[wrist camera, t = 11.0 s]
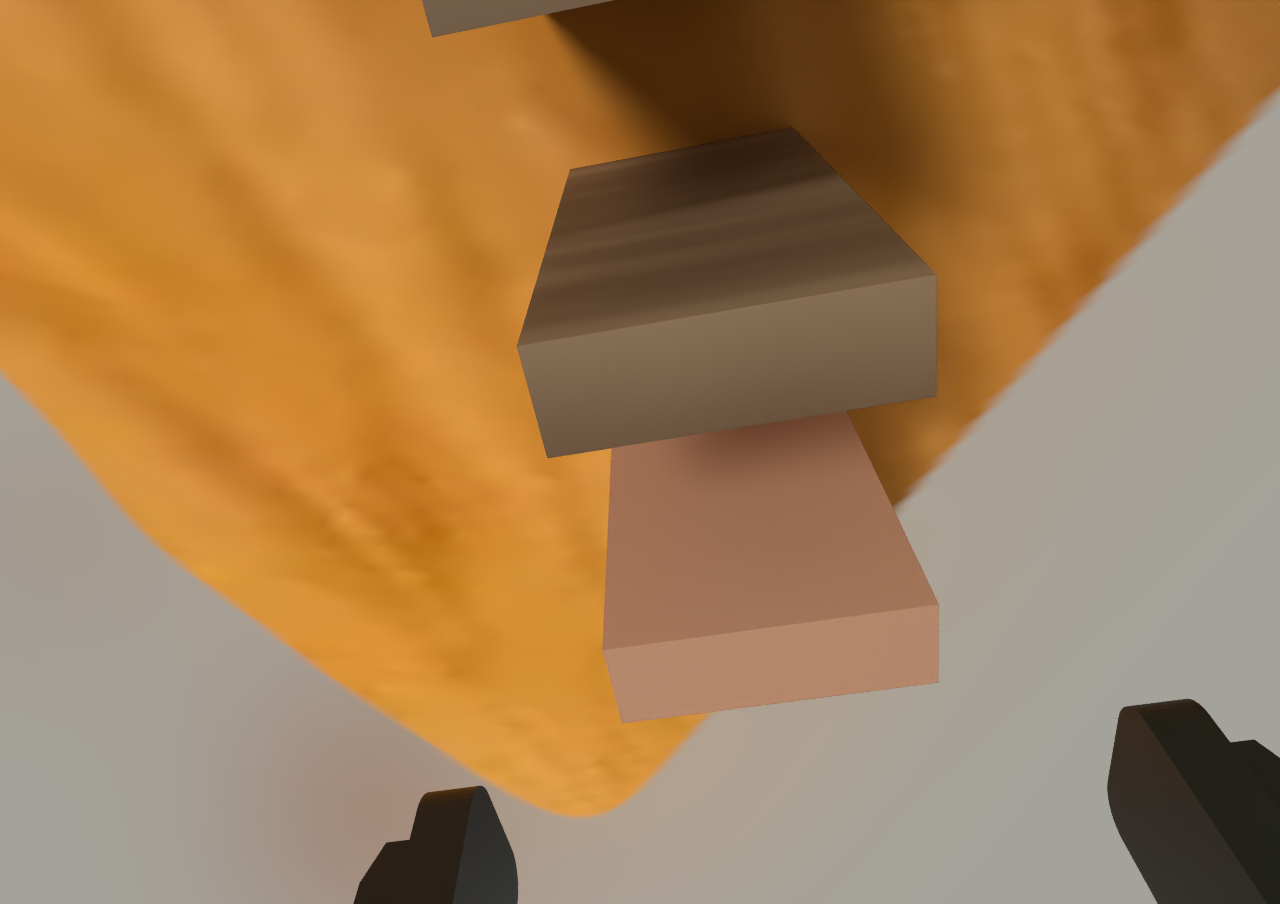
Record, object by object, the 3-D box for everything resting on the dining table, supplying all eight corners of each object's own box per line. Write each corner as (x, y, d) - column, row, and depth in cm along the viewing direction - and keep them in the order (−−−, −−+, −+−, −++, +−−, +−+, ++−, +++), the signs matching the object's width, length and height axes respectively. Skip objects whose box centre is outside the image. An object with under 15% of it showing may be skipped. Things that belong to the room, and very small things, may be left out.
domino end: (614, 371, 21) (602, 650, 13) (812, 338, 21) (938, 604, 12) (626, 425, 22) (622, 723, 13) (816, 395, 22) (938, 682, 13)
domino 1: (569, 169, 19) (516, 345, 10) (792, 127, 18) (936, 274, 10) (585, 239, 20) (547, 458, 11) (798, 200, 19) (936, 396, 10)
